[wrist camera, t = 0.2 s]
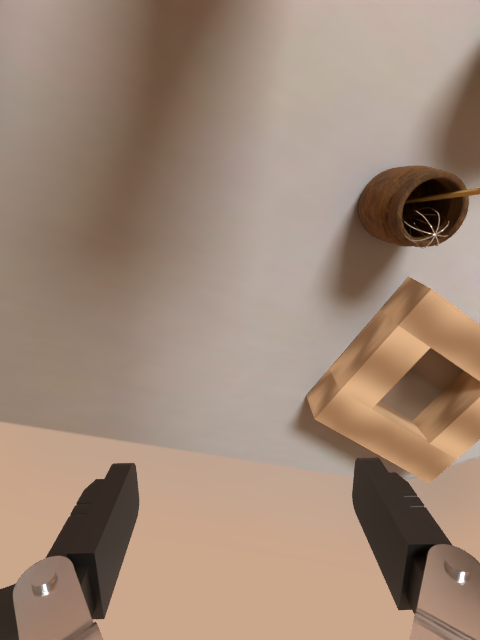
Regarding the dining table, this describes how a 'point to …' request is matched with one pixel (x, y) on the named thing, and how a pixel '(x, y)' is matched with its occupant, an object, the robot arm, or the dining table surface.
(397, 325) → the oak socket block
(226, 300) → the dining table surface
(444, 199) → the utensil holder
